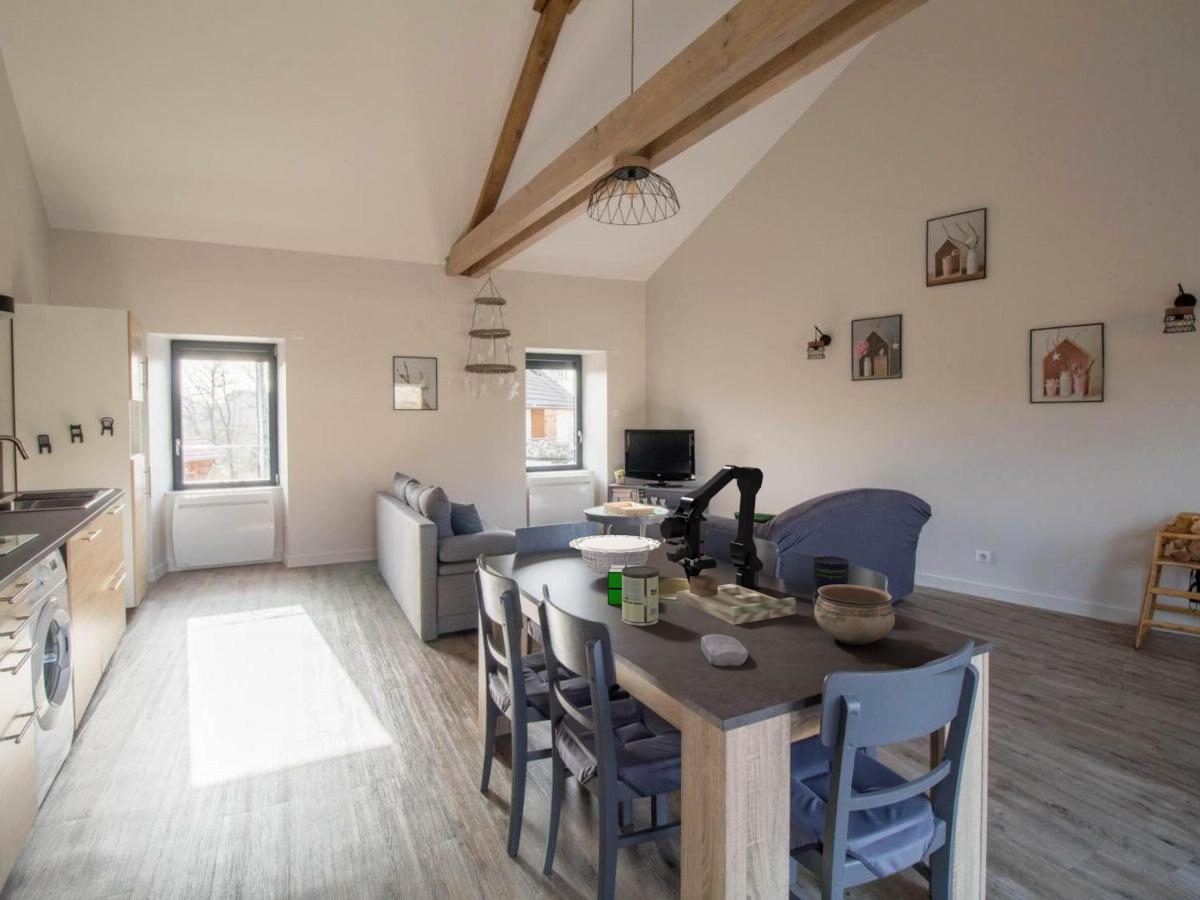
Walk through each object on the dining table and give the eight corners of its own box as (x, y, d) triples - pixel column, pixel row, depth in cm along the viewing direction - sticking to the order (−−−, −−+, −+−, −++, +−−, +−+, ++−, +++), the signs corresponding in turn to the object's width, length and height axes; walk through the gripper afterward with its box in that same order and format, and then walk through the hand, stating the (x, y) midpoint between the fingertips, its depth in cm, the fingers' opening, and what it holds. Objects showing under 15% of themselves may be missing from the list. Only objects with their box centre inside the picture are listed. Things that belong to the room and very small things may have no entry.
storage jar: (849, 608, 198) (850, 558, 197) (846, 617, 189) (847, 564, 188) (814, 604, 202) (815, 555, 201) (810, 613, 193) (811, 561, 192)
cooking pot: (855, 662, 154) (856, 610, 153) (789, 639, 170) (790, 592, 169) (916, 642, 168) (918, 594, 167) (851, 623, 184) (852, 578, 183)
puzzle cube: (642, 597, 210) (642, 565, 209) (641, 606, 200) (641, 572, 199) (610, 596, 211) (610, 564, 210) (607, 605, 201) (607, 571, 200)
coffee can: (627, 613, 192) (627, 564, 191) (662, 616, 189) (663, 567, 188) (616, 623, 182) (616, 572, 182) (653, 627, 179) (653, 575, 178)
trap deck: (733, 591, 217) (733, 577, 216) (795, 614, 192) (795, 598, 191) (675, 599, 206) (676, 585, 206) (733, 624, 182) (733, 608, 181)
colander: (677, 576, 237) (677, 540, 236) (632, 596, 210) (632, 556, 209) (600, 565, 254) (600, 531, 253) (550, 582, 227) (550, 545, 227)
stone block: (735, 655, 164) (696, 648, 163) (740, 636, 164) (700, 629, 163) (750, 675, 152) (708, 668, 151) (755, 655, 152) (713, 648, 151)
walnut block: (705, 590, 208) (706, 574, 208) (717, 595, 202) (717, 578, 202) (689, 592, 205) (689, 576, 205) (701, 597, 200) (701, 580, 199)
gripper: (653, 533, 213) (653, 582, 214) (687, 543, 197) (686, 596, 198) (683, 530, 218) (682, 578, 219) (718, 540, 202) (717, 591, 203)
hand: (691, 585), depth 209 cm, fingers closed
